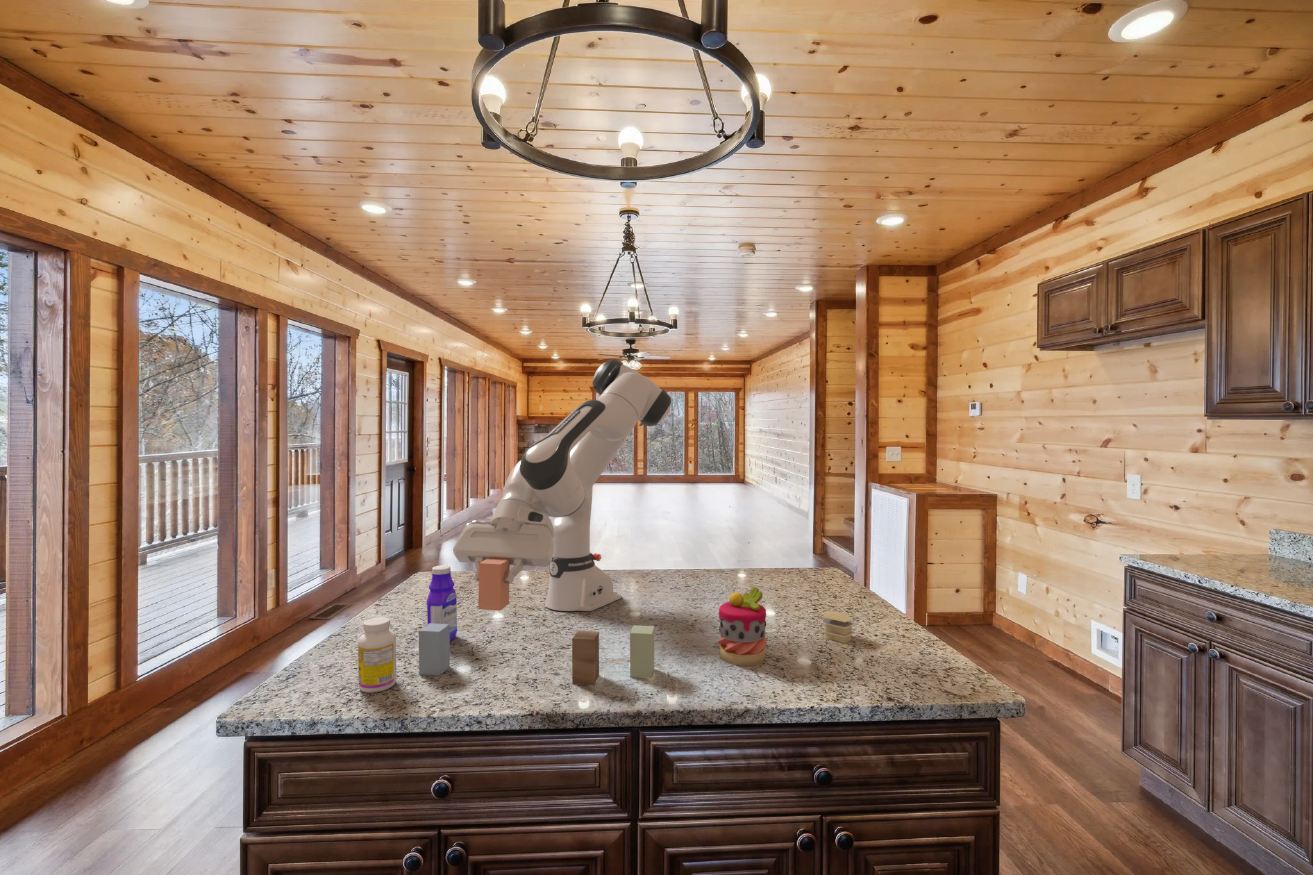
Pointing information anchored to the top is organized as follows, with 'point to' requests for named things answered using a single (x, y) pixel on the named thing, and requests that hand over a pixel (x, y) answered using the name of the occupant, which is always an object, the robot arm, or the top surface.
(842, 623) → the pale yellow layered block
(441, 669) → the slate block
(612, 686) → the top surface
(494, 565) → the terracotta block
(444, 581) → the bottle
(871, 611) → the top surface
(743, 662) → the cake
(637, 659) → the sage block
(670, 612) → the top surface
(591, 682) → the walnut block
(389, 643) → the supplement bottle
